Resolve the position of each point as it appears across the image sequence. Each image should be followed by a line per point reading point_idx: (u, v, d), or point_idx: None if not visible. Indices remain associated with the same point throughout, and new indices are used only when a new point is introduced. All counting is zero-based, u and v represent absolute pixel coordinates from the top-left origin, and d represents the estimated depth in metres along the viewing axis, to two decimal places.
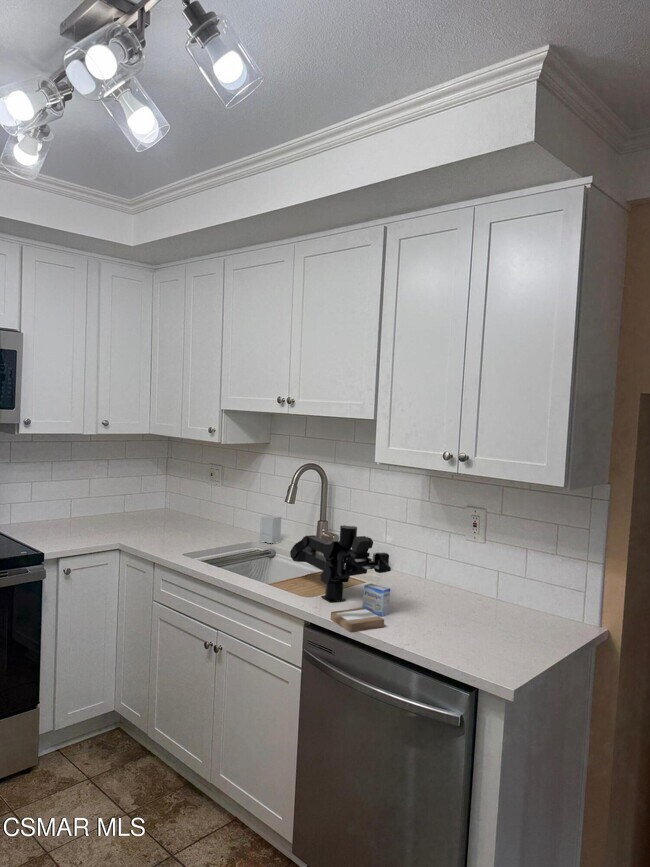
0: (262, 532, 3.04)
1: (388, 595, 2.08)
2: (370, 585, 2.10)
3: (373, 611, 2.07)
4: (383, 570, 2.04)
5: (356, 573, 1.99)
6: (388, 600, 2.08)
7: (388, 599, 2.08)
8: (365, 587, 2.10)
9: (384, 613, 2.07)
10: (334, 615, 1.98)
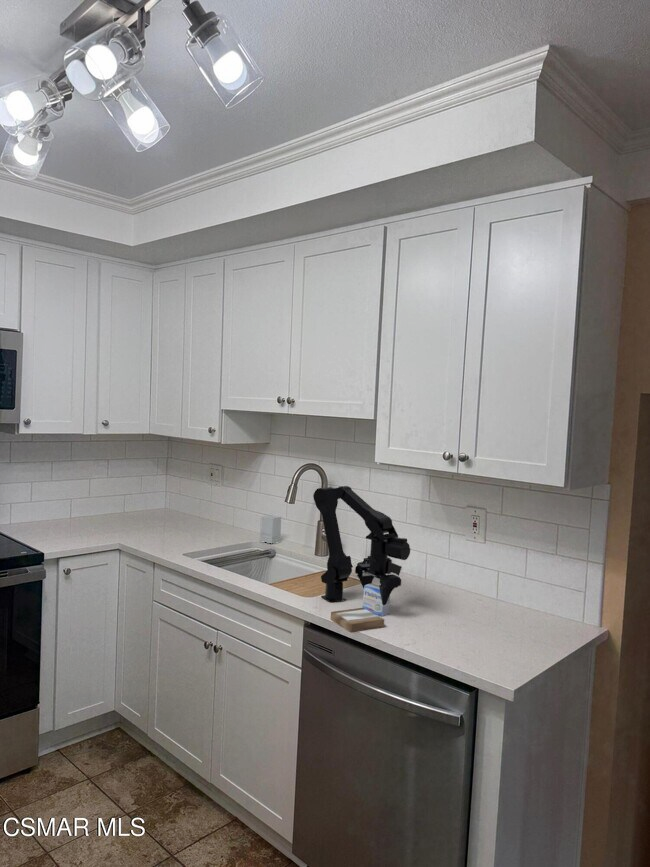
0: (262, 532, 3.04)
1: None
2: (370, 585, 2.10)
3: (373, 611, 2.07)
4: None
5: (383, 595, 2.04)
6: (388, 600, 2.08)
7: (388, 599, 2.08)
8: (365, 587, 2.10)
9: (384, 613, 2.07)
10: (334, 615, 1.98)
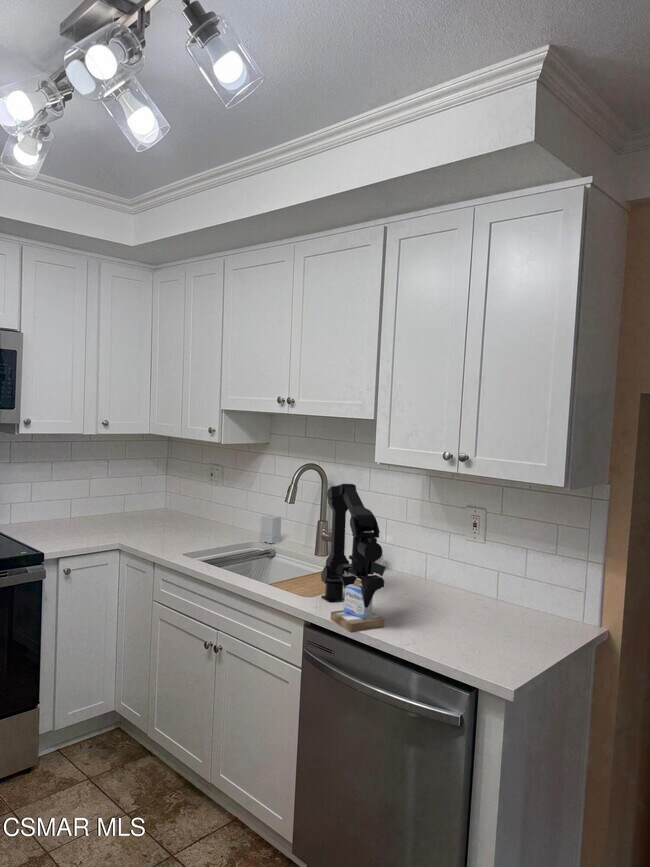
0: (262, 532, 3.04)
1: None
2: (352, 585, 1.98)
3: (355, 613, 1.95)
4: None
5: (365, 597, 1.91)
6: (371, 601, 1.96)
7: (371, 600, 1.96)
8: (346, 587, 1.98)
9: (366, 615, 1.95)
10: (334, 615, 1.98)
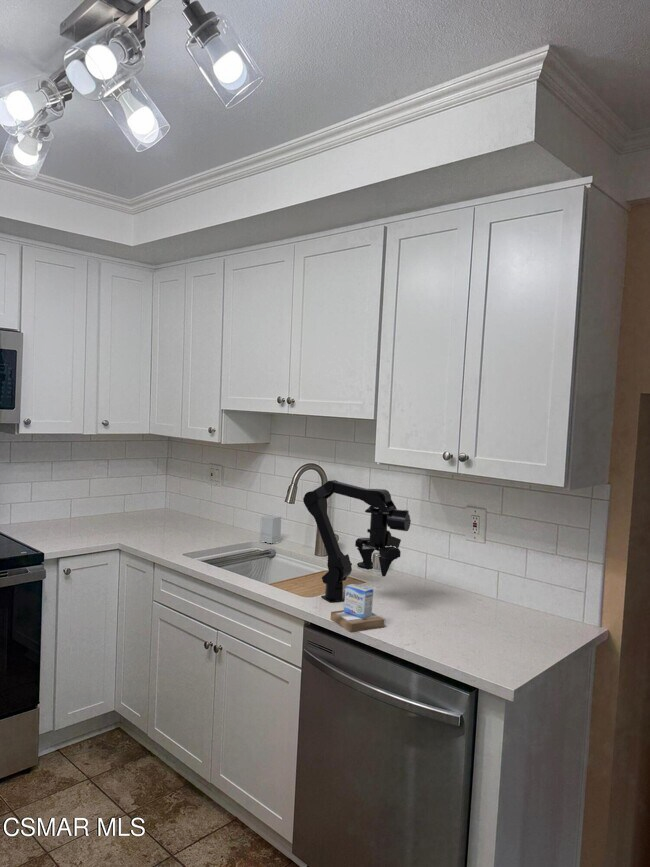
0: (262, 532, 3.04)
1: (371, 596, 1.96)
2: (352, 585, 1.98)
3: (355, 613, 1.95)
4: (365, 559, 2.17)
5: (383, 566, 2.08)
6: (371, 601, 1.96)
7: (371, 600, 1.96)
8: (347, 587, 1.98)
9: (366, 615, 1.95)
10: (334, 615, 1.98)
